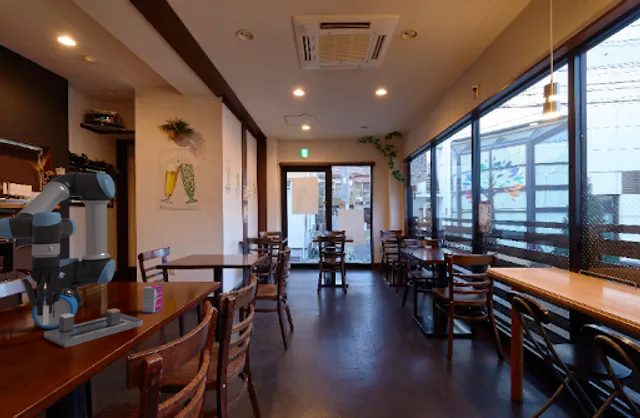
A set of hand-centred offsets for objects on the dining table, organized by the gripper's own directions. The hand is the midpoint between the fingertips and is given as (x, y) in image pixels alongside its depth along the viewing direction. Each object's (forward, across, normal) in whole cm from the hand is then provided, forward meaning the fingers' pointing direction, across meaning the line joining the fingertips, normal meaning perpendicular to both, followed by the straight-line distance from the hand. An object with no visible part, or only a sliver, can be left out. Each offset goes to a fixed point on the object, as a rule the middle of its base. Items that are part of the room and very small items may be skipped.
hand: (44, 324), depth 111 cm
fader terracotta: (+4, +19, -8) cm, 21 cm away
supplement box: (+6, +41, +2) cm, 41 cm away
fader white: (+4, +7, 0) cm, 8 cm away
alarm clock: (+6, +9, +15) cm, 19 cm away
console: (+6, +15, -4) cm, 16 cm away
